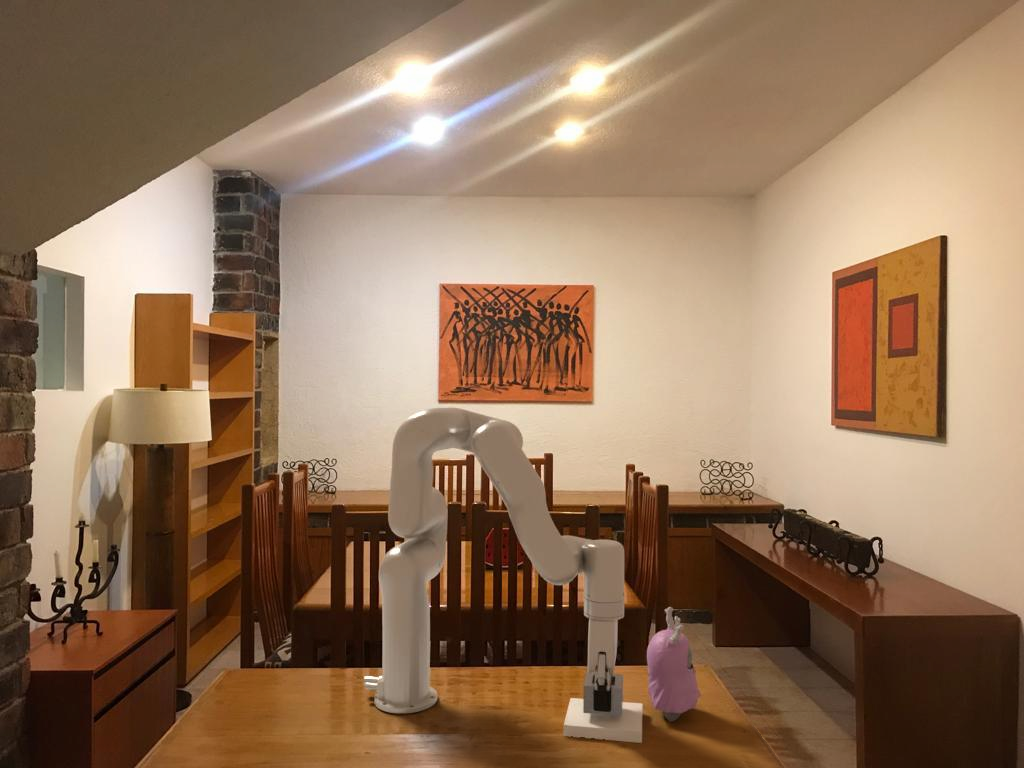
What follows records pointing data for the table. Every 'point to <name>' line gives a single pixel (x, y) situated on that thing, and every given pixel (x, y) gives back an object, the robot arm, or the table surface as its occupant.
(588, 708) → the collar
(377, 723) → the table surface
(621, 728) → the post plinth
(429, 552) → the robot arm
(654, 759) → the table surface
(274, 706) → the table surface
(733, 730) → the table surface
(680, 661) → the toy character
